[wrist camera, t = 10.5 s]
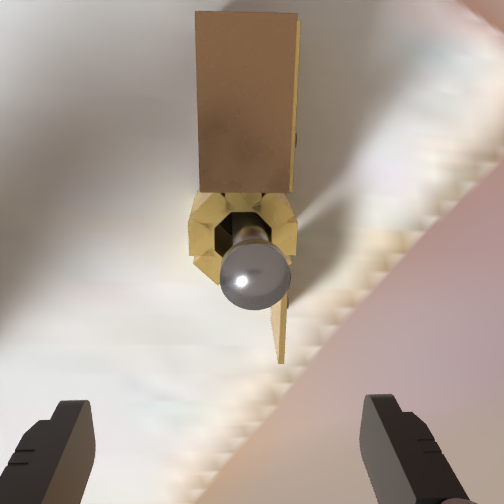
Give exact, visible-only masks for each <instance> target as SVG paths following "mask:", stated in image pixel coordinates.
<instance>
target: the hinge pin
mask: <svg viewBox="0 0 504 504" xmlns="http://www.w3.org/2000/svg"><path fill="white" fill-rule="evenodd" d="M232 230H233V246H232V247H231V248H230V249H229V250H228V251H227V252H226V253H225V255H224V257H223V259H222V261H221V265H220V285H221V289H222V291H223V293H224V295H225V296H226V297H227V299H228V300H229V301H230V302H232V303H233V304H234V305H236V306H238V307H240V308H243V309H248V310H261V309H265V308H268V307H271V306H273V305H274V304H276V303H277V302H279V301H280V300H281V299H282V298H283V296H284V295H285V294H286V292H287V290H288V288H289V285H290V279H291V275H290V269H289V266H288V263H287V260H286V257H285V255H284V253H283V252H282V251H281V250H280V248H278V247H277V246H276V245H275V244H273V243H271V242H269V240H268V236H267V232H266V228H265V224H264V220H263V219H262V218H261V217H260V216H259V215H258V214H257V213H256V212H232Z"/></svg>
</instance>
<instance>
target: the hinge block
mask: <svg viewBox="0 0 504 504" xmlns="http://www.w3.org/2000/svg"><path fill="white" fill-rule="evenodd" d="M300 27H301V20H297V13H258V12H215V11H195V32H196V69H197V106H198V142H199V179H200V189H199V190H198V191H197V195H196V198H195V199H194V203H193V206H192V210H191V214H190V218H189V221H188V233H189V256H194V261H193V264H194V265H195V266H196V267H198V268H199V269H200V270H201V271H202V272H203V273H204V274H206V275H207V276H208V277H209V278H210V279H211V280H212V281H213V282H215V283H216V284H217V285H219V284H220V265H221V261H222V259H223V257H224V255H225V253H226V252H227V251H228V250H229V249H230V248H231V247H232V246H233V235H230V234H229V233H228V232H227V231H226V230H225V229H224V228H223V227H222V226H221V225H220V224H219V223H220V222H221V221H222V220H223V219H224V218H225V217H226V216H227V215H229V214H230V213H231V212H256V213H257V214H258V215H259V216H260V217H261V218H262V219H263V220H264V224H265V228H266V232H267V236H268V240H269V242H271V243H273V244H275V245H276V246H277V247H278V248H280V250H281V251H282V252H283V253H284V255H285V257H286V260H287V263H288V266H289V265H291V264H292V261H291V258H290V255H296V246H297V227H298V222H297V220H296V218H295V216H294V215H295V214H294V212H293V210H292V208H291V206H290V204H289V201H288V199H287V197H286V195H285V193H292V191H293V170H294V150H295V148H296V142H297V135H296V133H295V129H296V109H297V88H298V68H299V47H300ZM287 293H288V290H287V292H286V294H285V295H284V296H283V298H282V299H281V300H280V301H279V302H277V303H276V304H274V305H273V306H271V324H272V330H273V336H274V342H275V348H276V353H277V359H278V364H284V354H285V334H286V313H287V309H288V296H287Z"/></svg>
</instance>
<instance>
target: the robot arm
mask: <svg viewBox="0 0 504 504" xmlns="http://www.w3.org/2000/svg"><path fill="white" fill-rule="evenodd" d="M359 440H360V450H361V455H362V459H363V461H364V464H365V467H366V469H367V473H368V476H369V478H370V481H371V484H372V487H373V489H374V492H375V495H376V498H377V501H378V503H379V504H477V503H474V502H472V501H470V499H469V498H468V496H467V494H466V493H465V491H464V489H463V487H462V486H461V484H460V482H459V481H458V479H457V477H456V475H455V473H454V472H453V470H452V468H451V466H450V465H449V463H448V462H447V460H446V458H445V456H444V454H442V451H441V449H440V447H439V446H438V444H437V442H435V439H434V437H433V435H432V434H431V432H430V430H429V429H428V427H427V425H426V424H425V423H424V422H423V421H422V420H421V419H420V418H418V417H417V416H416V415H415V414H414V413H413V412H402V410H401V408H400V407H399V405H398V403H397V401H396V399H395V397H394V396H393V395H392V394H377V395H376V394H374V395H366V396H365V400H364V406H363V413H362V421H361V428H360V438H359ZM95 446H96V445H95V435H94V428H93V421H92V413H91V406H90V402H89V401H88V400H70V401H60V402H59V404H58V405H57V407H56V409H55V411H54V413H53V415H52V417H51V419H50V420H39V421H38V422H37V423H36V424H34V425H33V426H32V427H31V428H30V429H29V430H28V431H27V432H26V433H25V434H24V435H23V437H22V438H21V440H20V442H19V444H18V446H17V447H16V449H15V453H13V455H12V456H11V458H10V460H9V462H8V466H6V467H5V469H4V471H3V473H2V474H1V476H0V504H80V502H81V499H82V496H83V493H84V490H85V487H86V484H87V481H88V478H89V476H90V473H91V470H92V467H93V463H94V458H95Z"/></svg>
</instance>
